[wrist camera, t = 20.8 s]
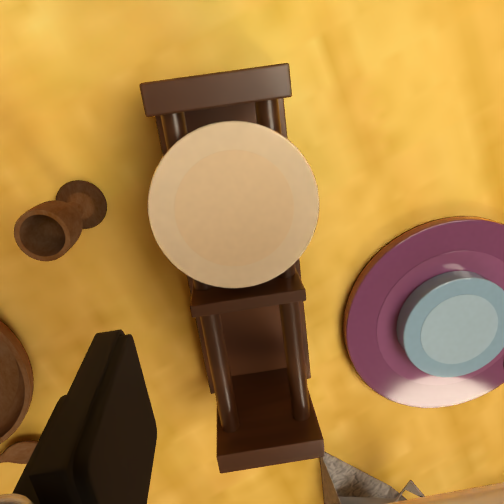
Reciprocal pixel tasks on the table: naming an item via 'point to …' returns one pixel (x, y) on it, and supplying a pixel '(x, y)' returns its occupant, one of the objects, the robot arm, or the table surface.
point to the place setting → (44, 249)
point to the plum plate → (395, 294)
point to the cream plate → (233, 204)
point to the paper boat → (356, 485)
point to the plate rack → (246, 292)
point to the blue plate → (452, 324)
